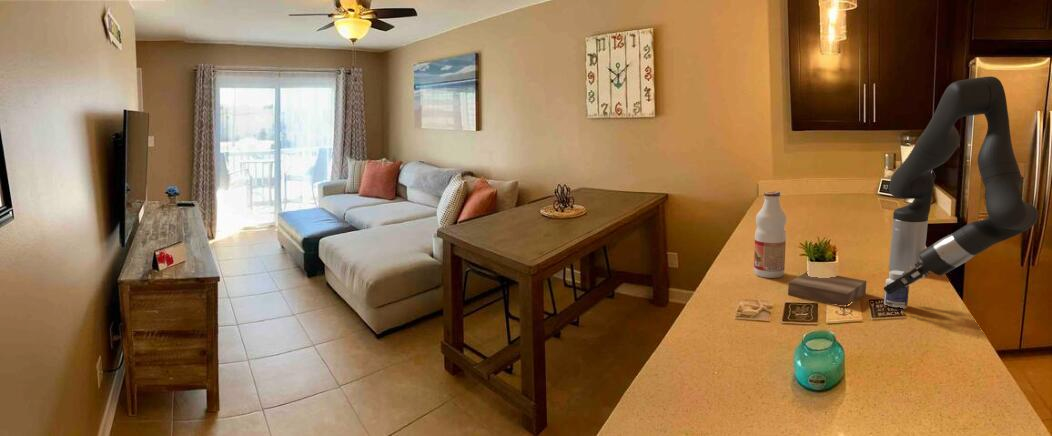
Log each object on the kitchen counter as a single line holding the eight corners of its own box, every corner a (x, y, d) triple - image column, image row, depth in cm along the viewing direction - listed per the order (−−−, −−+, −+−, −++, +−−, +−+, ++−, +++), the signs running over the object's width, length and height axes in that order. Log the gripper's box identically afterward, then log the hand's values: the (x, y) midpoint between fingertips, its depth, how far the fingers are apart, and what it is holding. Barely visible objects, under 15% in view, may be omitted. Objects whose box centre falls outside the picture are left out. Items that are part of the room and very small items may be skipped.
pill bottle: (911, 310, 145) (914, 275, 143) (888, 309, 146) (891, 275, 144) (901, 302, 150) (904, 269, 148) (880, 302, 151) (883, 269, 149)
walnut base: (808, 282, 170) (809, 270, 169) (865, 293, 158) (866, 280, 158) (787, 294, 161) (788, 282, 160) (846, 307, 149) (847, 294, 148)
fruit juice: (777, 280, 174) (781, 195, 168) (748, 275, 180) (751, 193, 175) (788, 273, 180) (792, 191, 174) (760, 268, 187) (763, 189, 181)
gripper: (942, 237, 143) (889, 270, 154) (927, 248, 134) (872, 282, 145) (965, 259, 140) (909, 291, 151) (952, 272, 131) (893, 305, 142)
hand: (891, 287), depth 148 cm, fingers open, 8 cm apart
